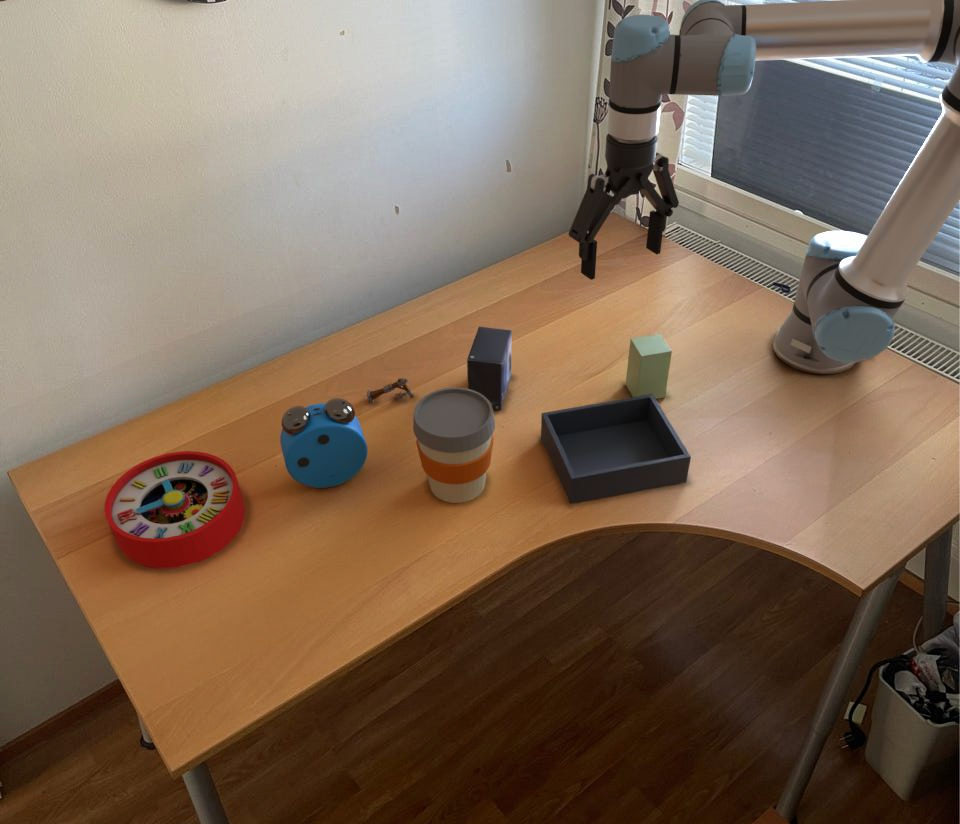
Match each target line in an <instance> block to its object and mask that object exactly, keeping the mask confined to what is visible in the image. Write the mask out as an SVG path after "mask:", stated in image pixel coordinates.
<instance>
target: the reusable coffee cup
mask: <svg viewBox="0 0 960 824" xmlns="http://www.w3.org/2000/svg"><path fill="white" fill-rule="evenodd" d="M412 421H413V422H412V423H413V424H412V426H413V427H412V430H413V435H414V437H415V438H416V443H415V444H416V450H417V453H418V456H419V457H418V458H419V460H420V464H421V467H422V469H423V471H424V473H425V474H426V476H427V477H426V478H427V480H428V483H429V488H430V490H431V492H432V494H433V495H434V496H435V497H436V498H438V499H439V500H441V501H444V502H446V503H452V504H460V503H466V502H469V501H472V500H474V499H475V498H477V497H479V496H480V495H481V494H482V493H483V491H484V489H485V487H486V486H485V485H486V479H487V472H488V470H489V469H490V466H491V462H492V454H493V449H494V431H495V429H496V421H495V415H494V410H493V409H492V405H491V403H490V401H489V400H488V399H487V398H486V397H485V396H484V395H482V394H481V393H479V392H476V391H474V390H470V389H468V388H466V387H445V388H439V389H436V390H434V391H431V392H429V393H428V394H426V395H424V396H423V397H422V398H421V399H419V401H418V402H417V403H416V405H415V407H414V409H413V420H412Z"/></svg>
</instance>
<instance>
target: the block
mask: <svg viewBox="0 0 960 824" xmlns="http://www.w3.org/2000/svg"><path fill="white" fill-rule="evenodd" d="M672 353H673V351H672V349H671V348H670V346H669V345H668V343H667V342H666V340H665V339H664V338H663V336H662V335H661V333H655V334H650V335H644V336H638V337H631V338H630V340H629V349H628V356H627V357H628V359H627V368H626V376H625V386H626V388H627V390H628V391H629V393H630V394H631V396H632V397H637V396H643V395H648V394H653V395H654V397H655V399H656V400H657V399H658V400H659V399H663V398H666V393H667V386H668V380H669V374H670V373H669V372H670V367H671V359H672Z"/></svg>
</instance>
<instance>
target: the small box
mask: <svg viewBox="0 0 960 824" xmlns="http://www.w3.org/2000/svg"><path fill="white" fill-rule="evenodd" d="M512 333H513V330H512V329H503V328H496V327H495V328H494V327H487V326H478V328H477V331H476V334H475V336H474V339H473V342H472V345H471V348H470V350H469V352H468V356H467V359H466V373H467V374H466V375H467V376H466V378H467V389H470V390H474V391H476V392H479V393H481V394H482V395H484V396H485V397H486V398H487V399H488V400H489V401H490V403H491V405H492V409H493V411H502V409H503V405H504V402H505V399H506V395H507V392H508V388H509V385H510V382H511V379H512V354H513V353H512V348H513V347H512V344H513V343H512V341H513V340H512V337H513V334H512Z"/></svg>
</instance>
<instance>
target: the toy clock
mask: <svg viewBox="0 0 960 824" xmlns="http://www.w3.org/2000/svg"><path fill="white" fill-rule="evenodd" d="M103 512H104V515H105V516H104V517H105V519H106V522H107V524H108V526H109V528H110V531H111V533H112V535H113V537H114V539H115V542H116V544H117V546H118V548H119V549H120V551H121V553H122V554H123V555H125V557H126V558H127V559H129V560H130V561H132V562H134V563H135V564H138V565H141V566H142V567H147V568H152V569H163V570H164V569H165V570H166V569H176V568H183V567H187V566H188V567H189V566H191V565H195V564H197V563H200V562H202V561H205V560H207V559H209V558H212V557H213V556H214V555H216V554H217V553H219V552H221V551H222V550H223V549H224V548H226V547H227V546H228V545H229V544H230V543H232V542H233V540H234V539H235V538H236V537H237V535H238V534H239V532H240V531H241V529H242V527H243V525H244V522H245V519H246V504H245V501H244V497H243V493H242V491H241V487H240V484H239V481H238V478H237V475H236V473H235V470H234V469H233V468H232V466H231V465H230V464H229V463H228V462H227V461H225V460H224V459H222V458H220V457H219V456H216V455H214V454H211V453H208V452H203V451H196V450H195V451H193V450H182V451H173V452H168V453H167V452H166V453H164V454H160V455H156V456H154V457H151V458H148V459H146V460H143V461H142V462H140V463H138V464H136V465H135V466H133V467H131V468H130V469H129V470H127V471H125V472H124V473H123V474H122V475H121V476H120V477H119V478H118V479H117V480H116V481H115V482H114V483H113V484H112V486H111V487H110V489H109V491H108V493H107V494H106V498H105V501H104V511H103Z"/></svg>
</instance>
